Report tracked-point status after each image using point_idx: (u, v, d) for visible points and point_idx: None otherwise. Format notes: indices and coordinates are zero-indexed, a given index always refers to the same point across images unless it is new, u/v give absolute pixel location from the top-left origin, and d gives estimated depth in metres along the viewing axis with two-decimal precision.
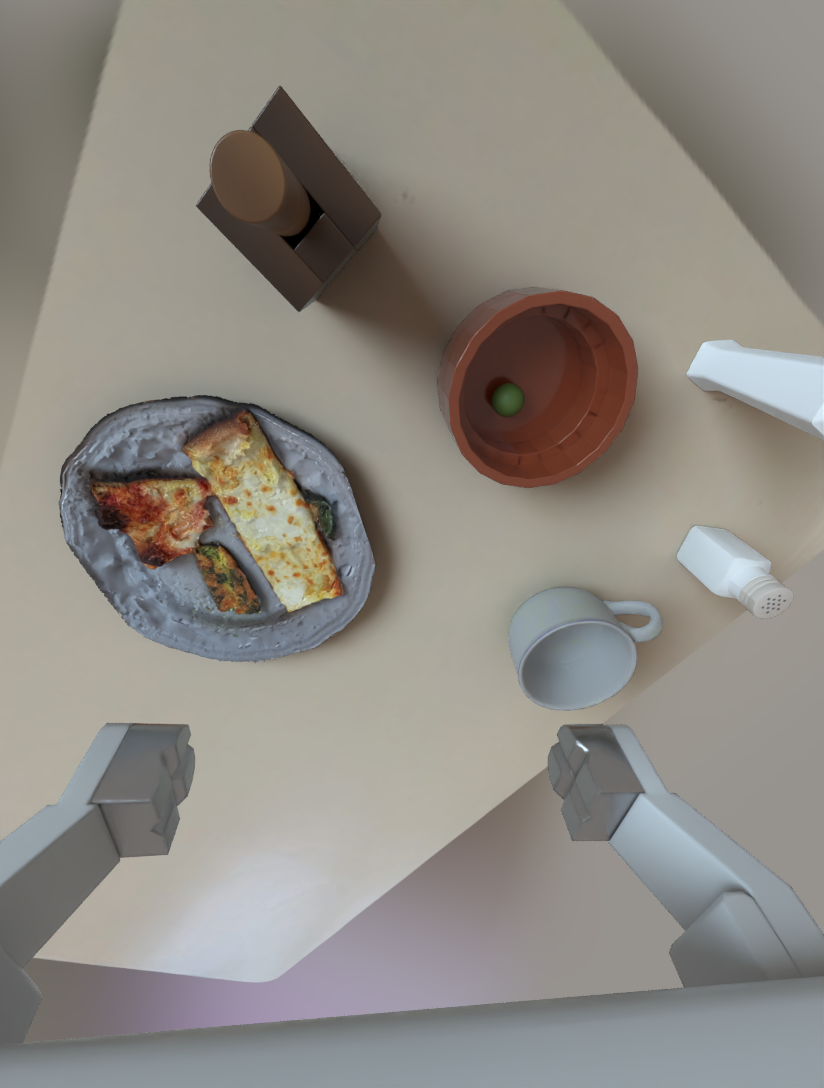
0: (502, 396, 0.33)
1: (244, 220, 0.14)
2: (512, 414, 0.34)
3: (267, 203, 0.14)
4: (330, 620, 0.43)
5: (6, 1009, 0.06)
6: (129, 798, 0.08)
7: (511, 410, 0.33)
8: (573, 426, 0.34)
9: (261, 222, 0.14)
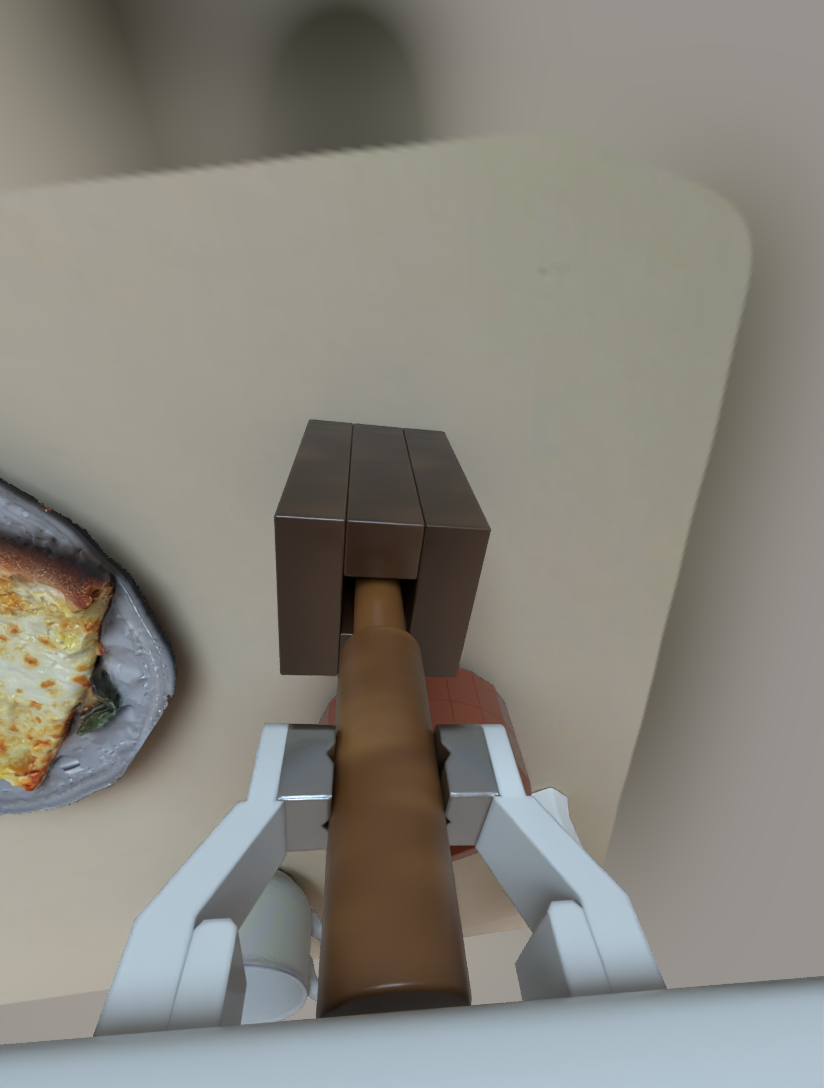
0: None
1: None
2: None
3: None
4: None
5: (237, 992, 0.07)
6: (310, 795, 0.08)
7: None
8: None
9: None
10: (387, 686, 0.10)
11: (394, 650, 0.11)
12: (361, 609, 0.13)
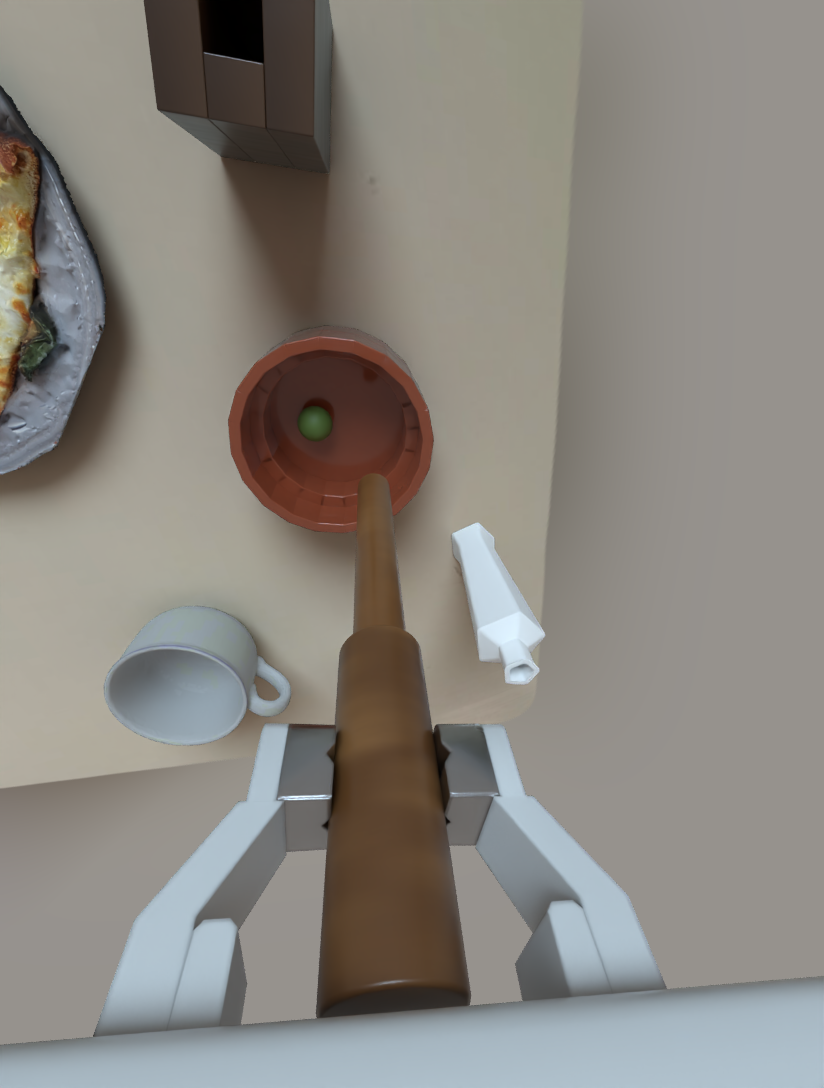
0: (311, 415, 0.31)
1: None
2: (307, 437, 0.31)
3: None
4: None
5: (237, 992, 0.07)
6: (310, 795, 0.08)
7: (309, 433, 0.31)
8: (346, 493, 0.34)
9: None
10: (387, 685, 0.10)
11: (394, 649, 0.11)
12: (361, 608, 0.13)
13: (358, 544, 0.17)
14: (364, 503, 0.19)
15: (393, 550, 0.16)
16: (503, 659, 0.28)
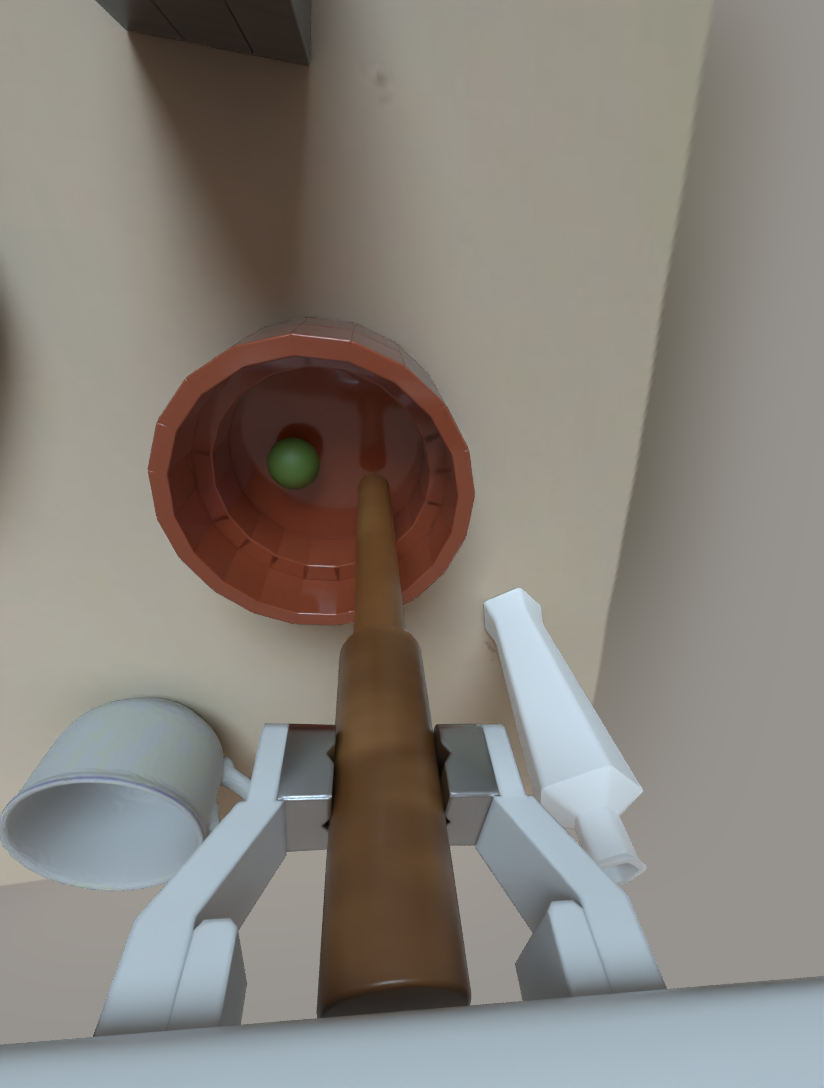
0: (287, 452, 0.20)
1: None
2: (282, 484, 0.21)
3: None
4: None
5: (237, 992, 0.07)
6: (309, 795, 0.08)
7: (283, 479, 0.21)
8: (340, 561, 0.23)
9: None
10: (388, 685, 0.10)
11: (394, 649, 0.11)
12: (362, 608, 0.13)
13: (358, 544, 0.17)
14: (365, 504, 0.19)
15: (393, 550, 0.16)
16: (586, 846, 0.18)
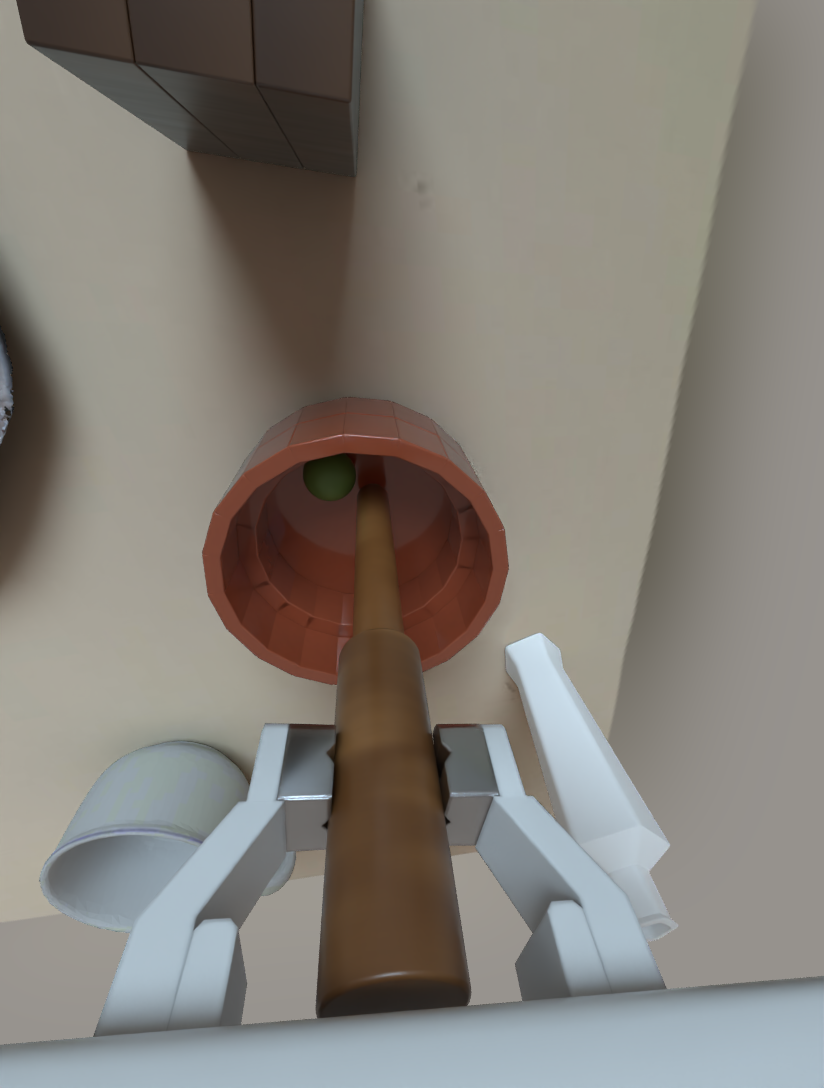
0: None
1: None
2: (304, 469, 0.20)
3: None
4: None
5: (237, 992, 0.07)
6: (310, 795, 0.08)
7: None
8: None
9: None
10: (386, 685, 0.10)
11: (393, 651, 0.11)
12: (361, 612, 0.13)
13: (357, 551, 0.17)
14: (363, 513, 0.19)
15: (392, 557, 0.16)
16: None
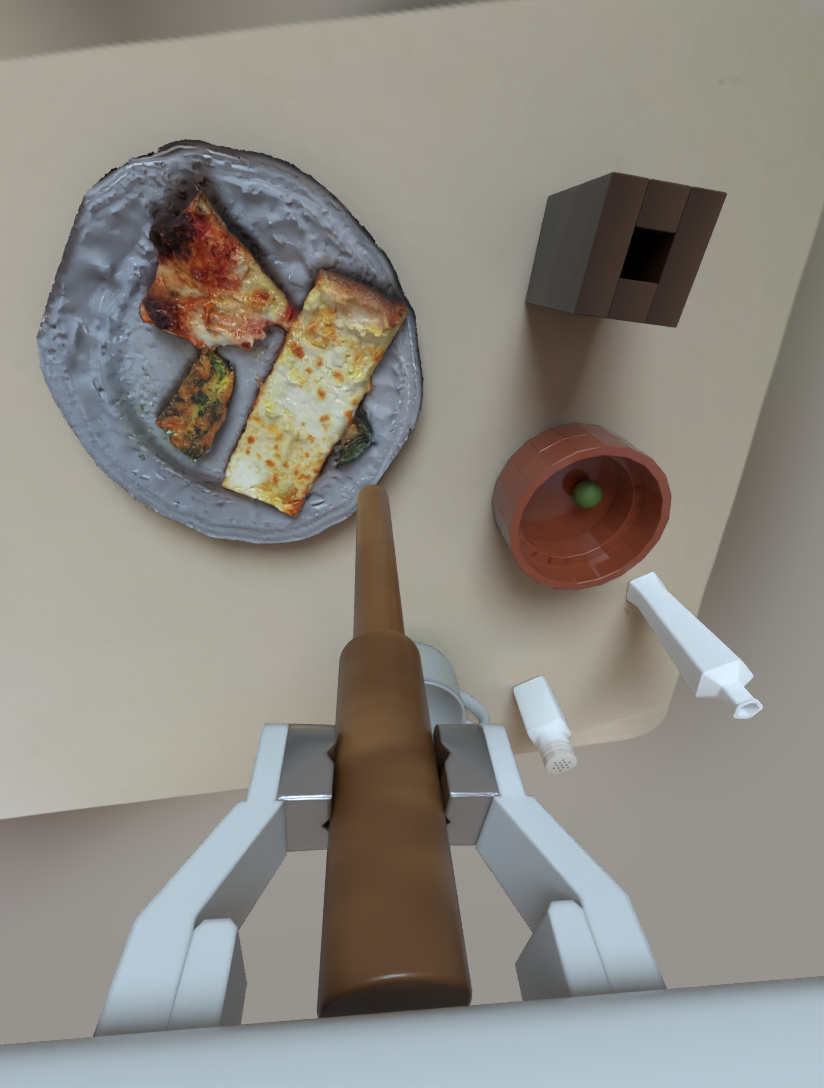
0: (593, 503, 0.38)
1: None
2: None
3: None
4: (253, 526, 0.37)
5: (237, 992, 0.07)
6: (310, 795, 0.08)
7: None
8: (567, 554, 0.40)
9: None
10: (387, 687, 0.10)
11: (393, 653, 0.11)
12: (361, 614, 0.13)
13: (358, 553, 0.17)
14: (364, 514, 0.19)
15: (392, 558, 0.16)
16: (730, 698, 0.34)
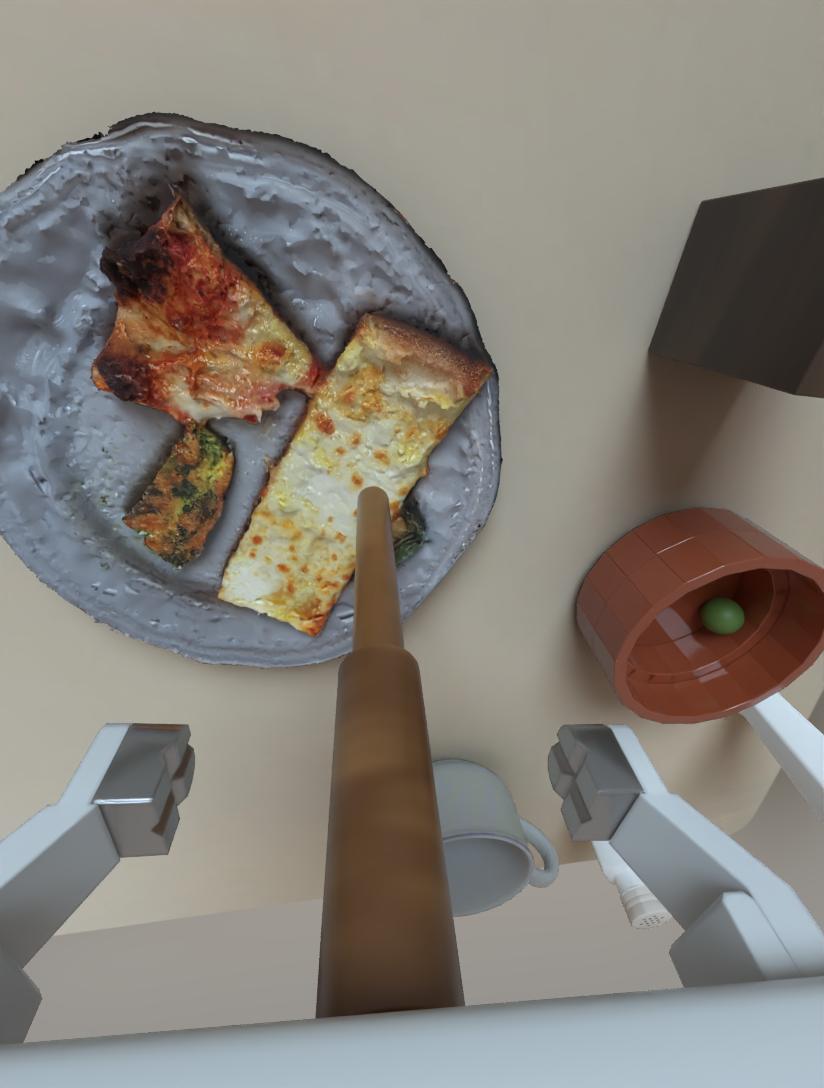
0: None
1: None
2: (702, 606, 0.30)
3: None
4: (259, 647, 0.27)
5: (6, 1009, 0.06)
6: (129, 798, 0.08)
7: None
8: (672, 669, 0.31)
9: None
10: (385, 705, 0.10)
11: (392, 668, 0.11)
12: (360, 625, 0.13)
13: (357, 559, 0.17)
14: (364, 517, 0.19)
15: (392, 565, 0.16)
16: None
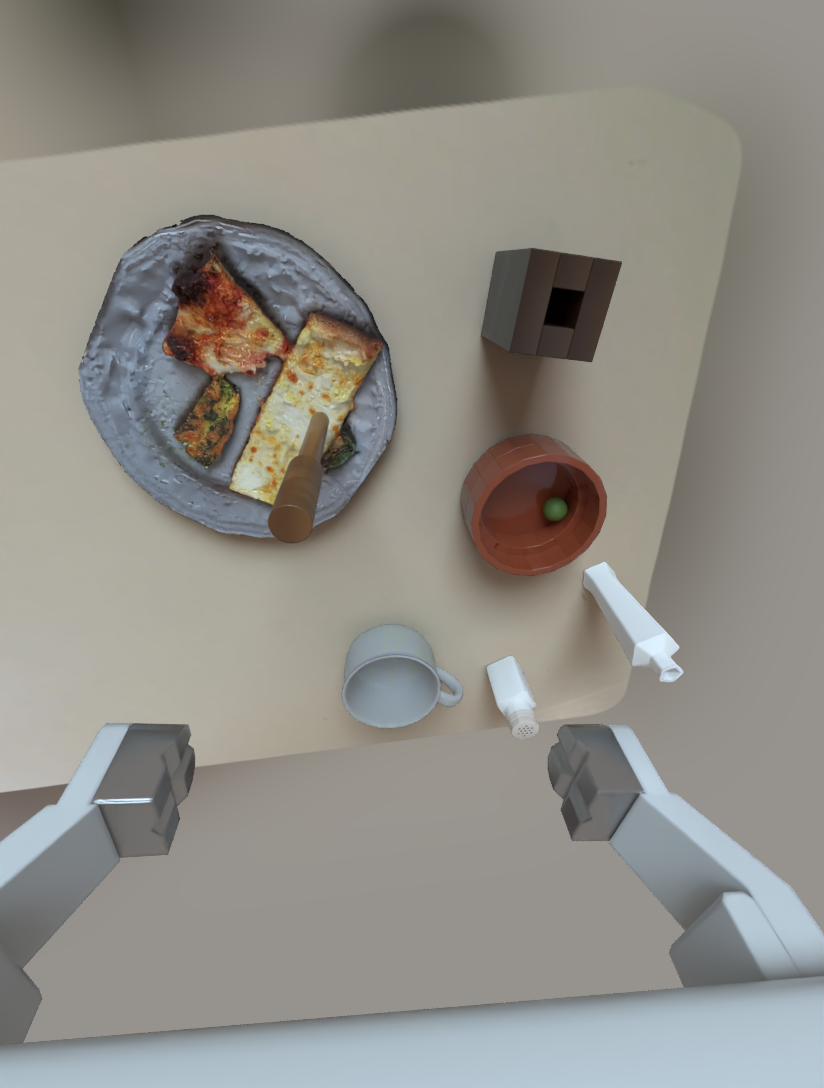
0: None
1: None
2: None
3: (289, 537, 0.23)
4: (255, 523, 0.44)
5: (6, 1009, 0.06)
6: (129, 798, 0.08)
7: None
8: (525, 545, 0.47)
9: None
10: (301, 466, 0.26)
11: (307, 460, 0.27)
12: (299, 455, 0.30)
13: (304, 438, 0.33)
14: (311, 423, 0.35)
15: (320, 440, 0.32)
16: (657, 665, 0.41)
